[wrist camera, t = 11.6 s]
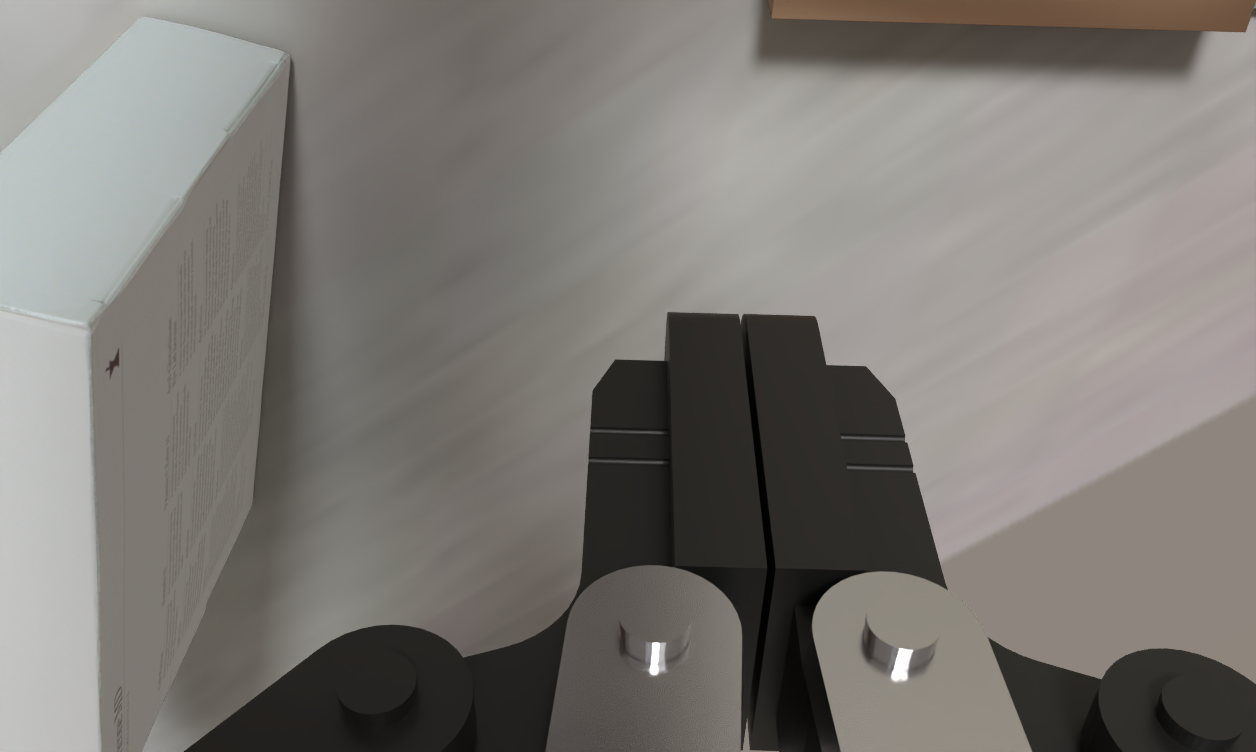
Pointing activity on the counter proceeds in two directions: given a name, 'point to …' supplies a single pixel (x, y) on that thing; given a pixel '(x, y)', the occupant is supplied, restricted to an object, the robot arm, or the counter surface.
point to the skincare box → (130, 372)
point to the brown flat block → (1032, 12)
